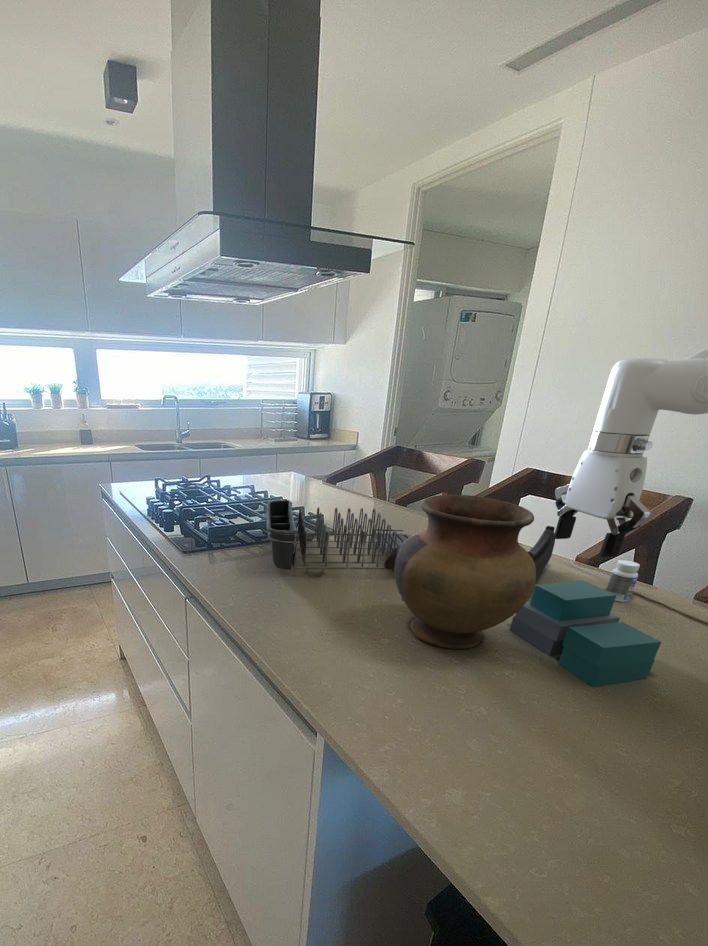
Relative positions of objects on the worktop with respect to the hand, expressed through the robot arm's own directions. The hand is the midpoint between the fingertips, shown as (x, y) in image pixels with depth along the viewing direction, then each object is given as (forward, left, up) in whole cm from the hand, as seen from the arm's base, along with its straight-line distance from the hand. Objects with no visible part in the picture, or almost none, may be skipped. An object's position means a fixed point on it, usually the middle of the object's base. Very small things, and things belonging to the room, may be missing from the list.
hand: (583, 546), depth 85 cm
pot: (+21, -5, -18) cm, 28 cm away
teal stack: (+2, +12, -18) cm, 21 cm away
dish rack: (+21, -49, -18) cm, 56 cm away
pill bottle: (-28, -12, -18) cm, 36 cm away
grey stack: (0, +1, -18) cm, 18 cm away
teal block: (0, +1, -12) cm, 12 cm away
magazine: (-16, -25, -18) cm, 35 cm away
